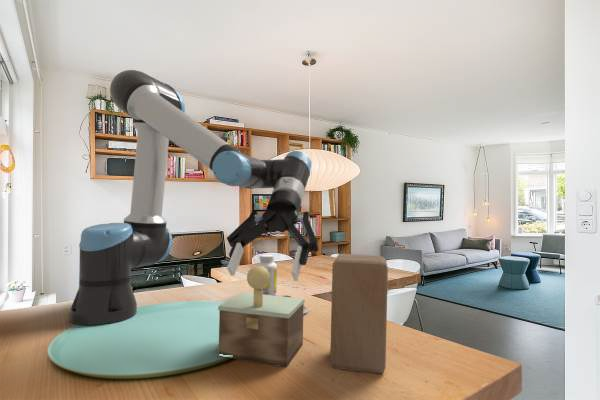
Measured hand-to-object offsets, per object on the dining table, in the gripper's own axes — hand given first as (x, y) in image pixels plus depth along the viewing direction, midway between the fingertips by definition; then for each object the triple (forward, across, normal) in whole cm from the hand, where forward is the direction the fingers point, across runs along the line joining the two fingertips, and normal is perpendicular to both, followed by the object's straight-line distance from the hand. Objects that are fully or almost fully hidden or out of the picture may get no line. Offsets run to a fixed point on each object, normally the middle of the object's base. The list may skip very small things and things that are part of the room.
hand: (261, 274), depth 71 cm
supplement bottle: (-19, -15, +42) cm, 48 cm away
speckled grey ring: (-9, -4, +32) cm, 33 cm away
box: (+10, 0, +13) cm, 16 cm away
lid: (+4, 0, +6) cm, 7 cm away
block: (+9, +19, +14) cm, 25 cm away
